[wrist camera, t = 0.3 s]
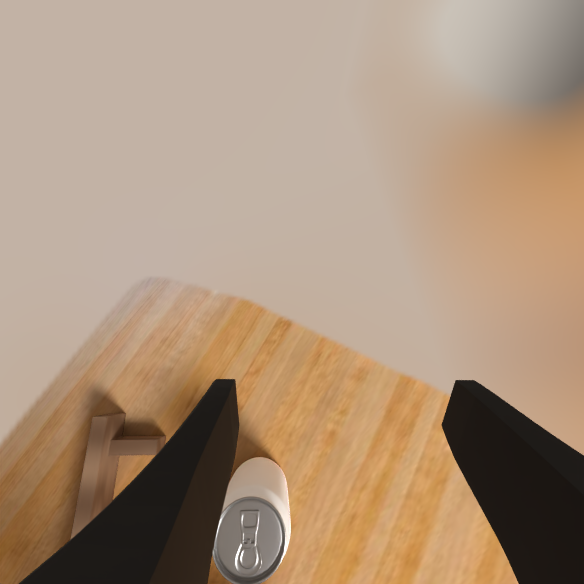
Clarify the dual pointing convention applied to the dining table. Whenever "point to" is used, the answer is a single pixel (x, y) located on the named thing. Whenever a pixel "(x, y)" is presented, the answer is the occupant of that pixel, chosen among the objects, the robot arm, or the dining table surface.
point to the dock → (106, 464)
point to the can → (253, 523)
